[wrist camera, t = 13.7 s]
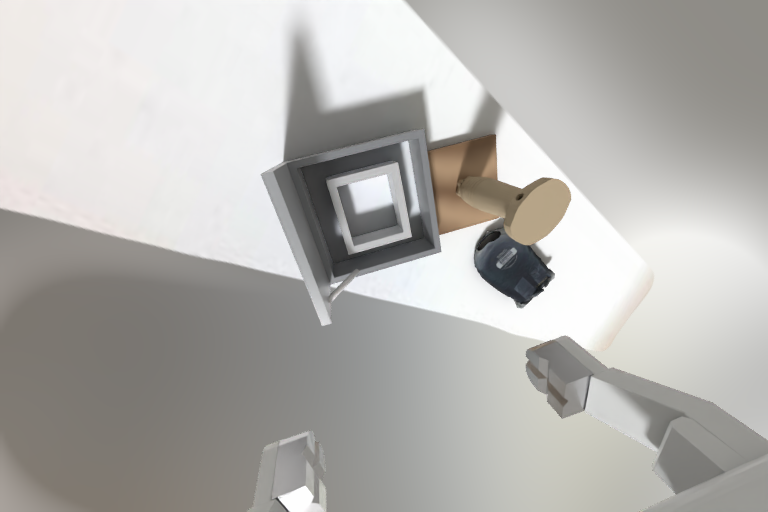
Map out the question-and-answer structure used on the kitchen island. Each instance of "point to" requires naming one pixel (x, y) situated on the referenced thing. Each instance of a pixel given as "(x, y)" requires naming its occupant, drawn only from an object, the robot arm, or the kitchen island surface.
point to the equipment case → (307, 233)
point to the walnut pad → (457, 166)
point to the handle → (519, 204)
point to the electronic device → (512, 268)
